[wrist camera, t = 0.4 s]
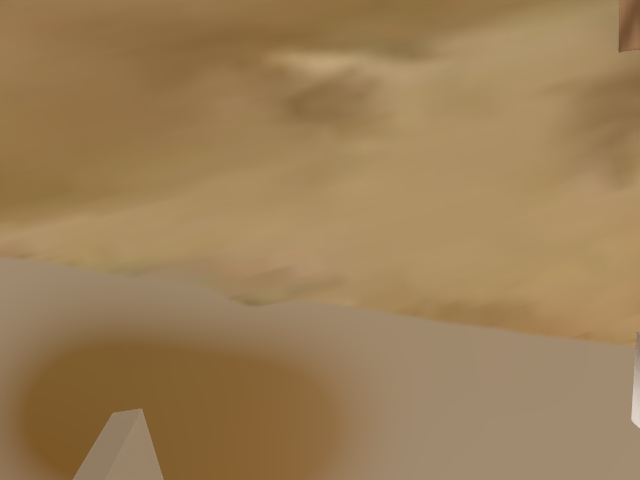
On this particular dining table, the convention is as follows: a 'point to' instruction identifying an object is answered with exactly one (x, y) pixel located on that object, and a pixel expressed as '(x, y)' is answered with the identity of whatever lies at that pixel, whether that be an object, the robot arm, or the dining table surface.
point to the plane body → (629, 25)
